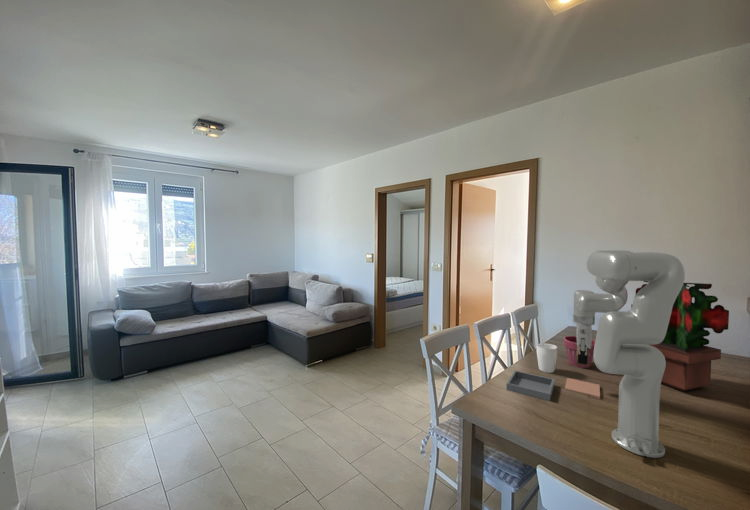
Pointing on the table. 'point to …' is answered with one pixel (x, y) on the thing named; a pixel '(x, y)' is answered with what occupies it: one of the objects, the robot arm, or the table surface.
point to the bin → (531, 385)
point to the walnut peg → (587, 356)
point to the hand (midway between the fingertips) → (582, 361)
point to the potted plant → (691, 338)
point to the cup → (546, 357)
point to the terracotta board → (583, 387)
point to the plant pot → (571, 349)
